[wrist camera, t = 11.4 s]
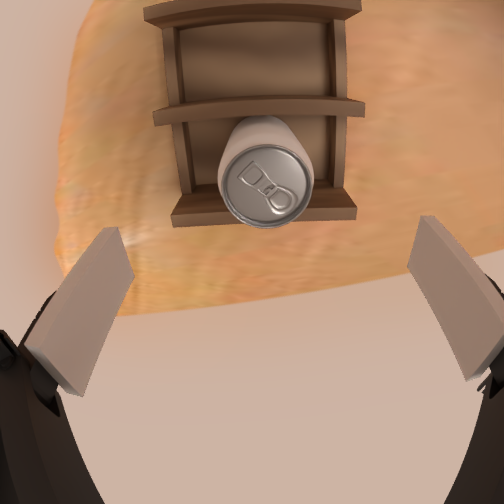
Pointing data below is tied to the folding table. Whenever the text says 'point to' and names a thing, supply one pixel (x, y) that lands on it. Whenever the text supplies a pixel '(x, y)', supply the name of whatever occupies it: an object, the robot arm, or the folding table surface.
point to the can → (265, 173)
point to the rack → (255, 92)
